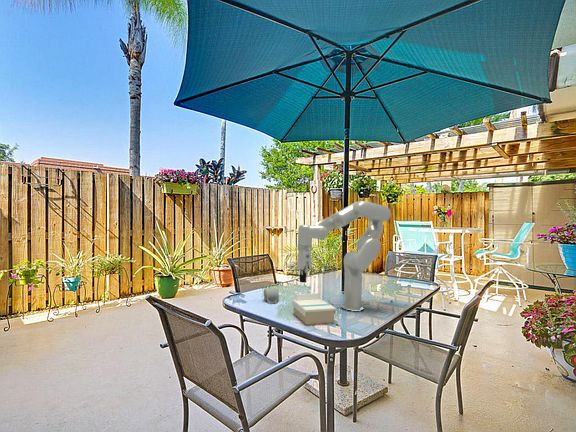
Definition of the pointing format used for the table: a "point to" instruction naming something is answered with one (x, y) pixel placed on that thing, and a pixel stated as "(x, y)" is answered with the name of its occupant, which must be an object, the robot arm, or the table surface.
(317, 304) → the lid
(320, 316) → the mailer box
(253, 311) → the table surface
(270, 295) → the ceramic mug
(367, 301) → the robot arm
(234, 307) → the table surface
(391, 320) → the table surface
